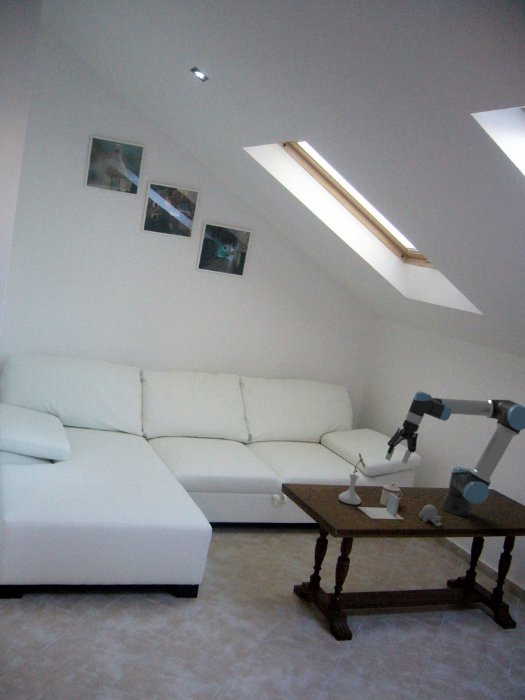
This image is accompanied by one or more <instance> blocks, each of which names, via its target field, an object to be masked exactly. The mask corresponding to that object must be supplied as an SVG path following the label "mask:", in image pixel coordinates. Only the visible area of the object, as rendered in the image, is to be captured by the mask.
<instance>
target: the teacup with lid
mask: <svg viewBox="0 0 525 700" xmlns="http://www.w3.org/2000/svg"><path fill="white" fill-rule="evenodd" d="M389 493H393V494H394V495H396V496H397V497H398V498H400V500H401V499H402V498H403V491H401V489H400V487H398V486H397V485H395V483H394V482H390V483H388V484H384V485H383V486H382V492H381V496H380V501H379V503H380V504H381V505H383V506H385V507H387V503H388V498H389Z"/></svg>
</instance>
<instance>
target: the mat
mask: <svg viewBox="0 0 525 700" xmlns="http://www.w3.org/2000/svg"><path fill="white" fill-rule="evenodd" d="M357 508H358V509H359V510H360V511H362V512H363V513H364V514H366V515H367V516H368V517H370V519H376V520H377V519H382V520H404V518H403V517H402V516H400V515H399V514H398V513H397V515H396V516H393V515H391V514H390V513H389V512H387V511H386V508H387V507H371V506H370V507H368V506H367V507H366V506H365V507H364V506H357Z"/></svg>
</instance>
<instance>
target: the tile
mask: <svg viewBox="0 0 525 700" xmlns="http://www.w3.org/2000/svg"><path fill="white" fill-rule="evenodd" d="M400 501H401V499H400V498H398V497H397V496H396V495H394V494H393V493H389V498H388V503H387V506H386V507H385V508H386V511H387V512H389V513H390V514H391V515H393V516H396V515H397V514H398V510H399V504H400Z"/></svg>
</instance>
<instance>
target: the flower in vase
mask: <svg viewBox="0 0 525 700" xmlns="http://www.w3.org/2000/svg"><path fill="white" fill-rule="evenodd" d="M358 457H359V460H358V462H357V463H356V465H355V466H354V471H352V474H351V473H350V474H348V476H349V478H350V485H349V488H348V489H347V490H346V491H343V492H342V493H340V494H339V495H338V496H337V497H338V500H339V501H341V502H342V503H344V504H348V505H360V503H361V502H362V499H361V498H360V496H359V495H358V494H357V493H356V491H355V485H356V483H357V481H358V479H359V478H360V476H359V475H357V474H356V473H358V470H357V466H358V465H359V463H361V465H362V467H363V468H364V469H365V468H366V464H365V463H364V458H362V454H361V452H359V453H358Z"/></svg>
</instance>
